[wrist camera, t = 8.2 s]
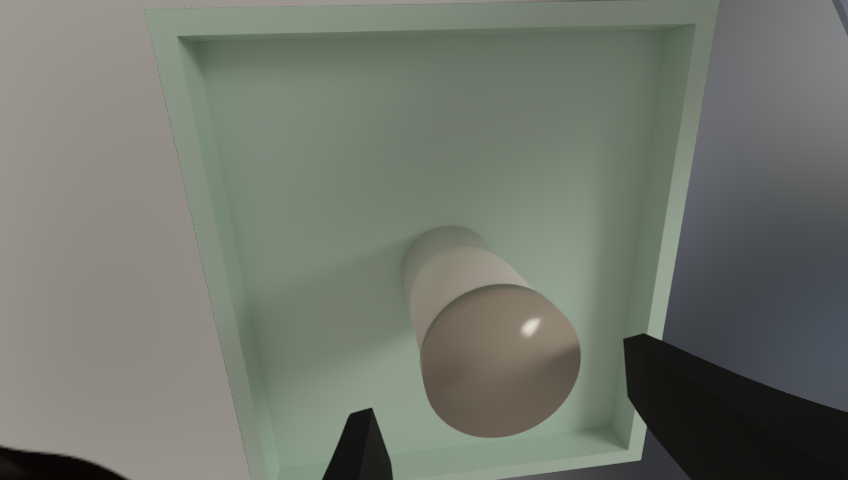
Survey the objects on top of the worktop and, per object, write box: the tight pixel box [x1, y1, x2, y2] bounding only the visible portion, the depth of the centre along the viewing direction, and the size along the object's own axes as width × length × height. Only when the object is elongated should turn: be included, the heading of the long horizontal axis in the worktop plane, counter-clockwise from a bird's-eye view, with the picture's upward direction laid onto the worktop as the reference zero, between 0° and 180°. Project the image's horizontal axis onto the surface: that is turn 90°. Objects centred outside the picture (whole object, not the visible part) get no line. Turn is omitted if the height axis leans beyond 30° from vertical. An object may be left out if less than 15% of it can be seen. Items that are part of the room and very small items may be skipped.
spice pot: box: [401, 226, 581, 438], centre depth 16 cm, size 5×5×8 cm
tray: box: [145, 0, 720, 480], centre depth 19 cm, size 22×20×2 cm
